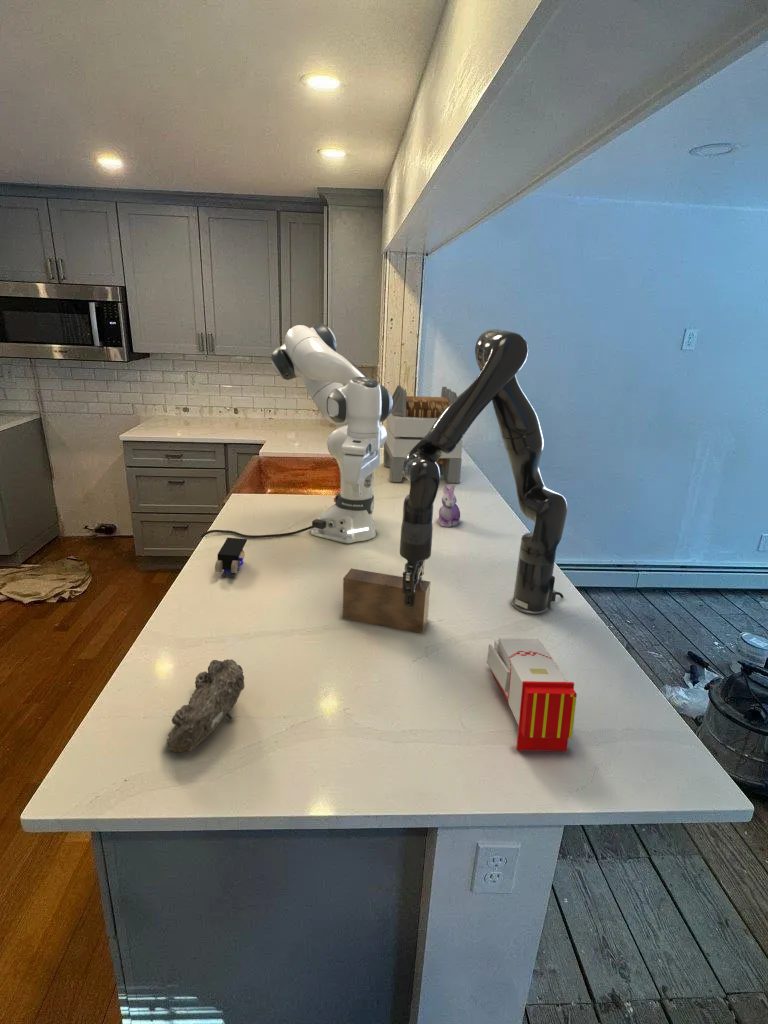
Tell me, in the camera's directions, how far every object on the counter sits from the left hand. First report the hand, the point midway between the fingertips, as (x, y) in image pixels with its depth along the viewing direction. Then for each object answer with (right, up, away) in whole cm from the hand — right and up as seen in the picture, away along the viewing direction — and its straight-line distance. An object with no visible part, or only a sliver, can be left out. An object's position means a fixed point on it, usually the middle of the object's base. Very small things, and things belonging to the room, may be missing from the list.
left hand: (362, 491), depth 153 cm
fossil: (-27, -45, -45) cm, 69 cm away
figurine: (+30, -10, +59) cm, 67 cm away
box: (+6, -33, -9) cm, 35 cm away
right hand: (+13, -27, -13) cm, 33 cm away
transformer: (+23, +13, +122) cm, 125 cm away
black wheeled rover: (-39, -23, +15) cm, 47 cm away
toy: (+34, -45, -37) cm, 67 cm away
